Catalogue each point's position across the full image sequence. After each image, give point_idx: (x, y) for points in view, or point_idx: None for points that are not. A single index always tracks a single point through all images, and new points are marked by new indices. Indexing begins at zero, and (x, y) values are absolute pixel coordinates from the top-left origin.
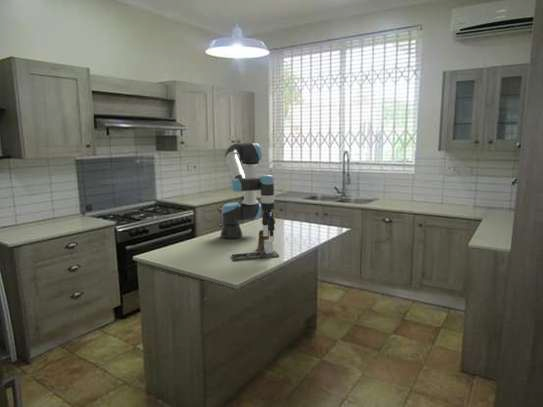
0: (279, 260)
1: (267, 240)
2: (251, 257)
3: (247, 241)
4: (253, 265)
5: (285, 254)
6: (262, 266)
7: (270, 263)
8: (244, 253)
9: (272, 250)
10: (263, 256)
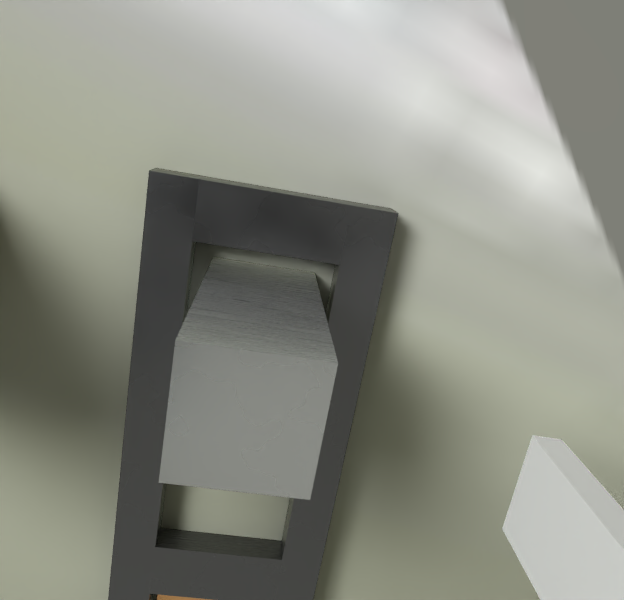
0: (537, 271)
1: (238, 439)
2: (319, 568)
3: None
4: (525, 590)
5: (329, 56)
6: None
7: (574, 415)
8: (116, 593)
9: (321, 301)
10: (349, 430)
